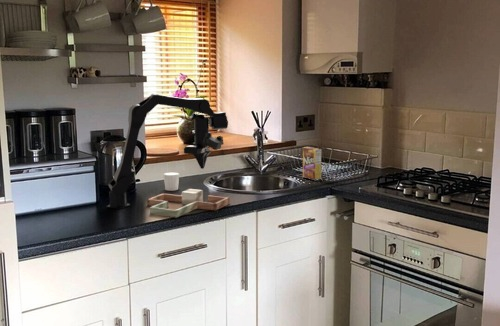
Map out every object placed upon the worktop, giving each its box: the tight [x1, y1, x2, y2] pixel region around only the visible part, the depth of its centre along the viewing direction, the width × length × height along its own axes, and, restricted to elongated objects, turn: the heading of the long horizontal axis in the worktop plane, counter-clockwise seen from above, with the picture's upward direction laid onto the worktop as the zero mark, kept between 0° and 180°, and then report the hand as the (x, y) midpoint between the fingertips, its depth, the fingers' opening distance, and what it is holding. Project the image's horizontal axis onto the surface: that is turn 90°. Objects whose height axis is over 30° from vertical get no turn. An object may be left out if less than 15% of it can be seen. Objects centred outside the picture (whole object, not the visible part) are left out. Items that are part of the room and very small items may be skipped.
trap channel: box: [146, 192, 230, 218], centre depth 216 cm, size 26×28×2 cm
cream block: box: [181, 188, 204, 206], centre depth 223 cm, size 6×6×5 cm
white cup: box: [163, 171, 180, 192], centre depth 247 cm, size 7×7×7 cm
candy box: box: [302, 146, 322, 179], centre depth 264 cm, size 9×4×15 cm, turn 36°
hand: (202, 168), depth 228 cm, fingers closed
